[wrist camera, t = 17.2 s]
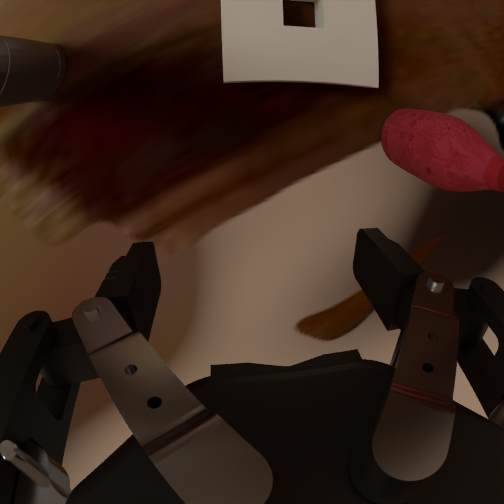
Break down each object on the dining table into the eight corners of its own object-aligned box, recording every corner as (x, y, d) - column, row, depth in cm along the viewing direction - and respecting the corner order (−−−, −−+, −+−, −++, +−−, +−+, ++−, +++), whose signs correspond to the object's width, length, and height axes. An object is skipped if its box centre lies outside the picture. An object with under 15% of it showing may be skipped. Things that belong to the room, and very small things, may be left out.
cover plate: (223, 83, 36) (223, 81, 33) (220, -42, 27) (220, -53, 23) (366, 87, 37) (378, 87, 34) (359, -30, 28) (370, -38, 24)
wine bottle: (432, 157, 43) (577, 238, 17) (385, 174, 44) (528, 278, 18) (420, 100, 38) (586, 145, 12) (369, 114, 39) (540, 168, 13)
